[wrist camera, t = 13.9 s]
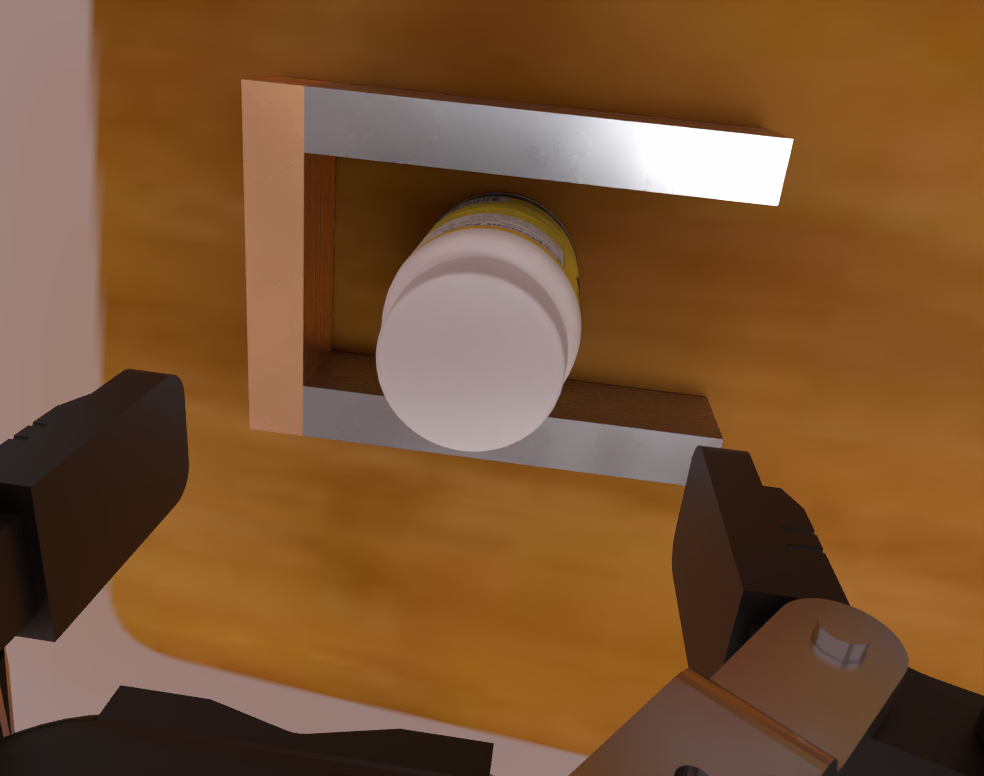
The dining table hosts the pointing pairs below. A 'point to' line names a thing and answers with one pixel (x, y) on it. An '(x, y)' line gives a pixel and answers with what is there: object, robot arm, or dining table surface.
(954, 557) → the dining table surface
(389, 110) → the frame
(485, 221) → the supplement bottle
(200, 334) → the dining table surface
